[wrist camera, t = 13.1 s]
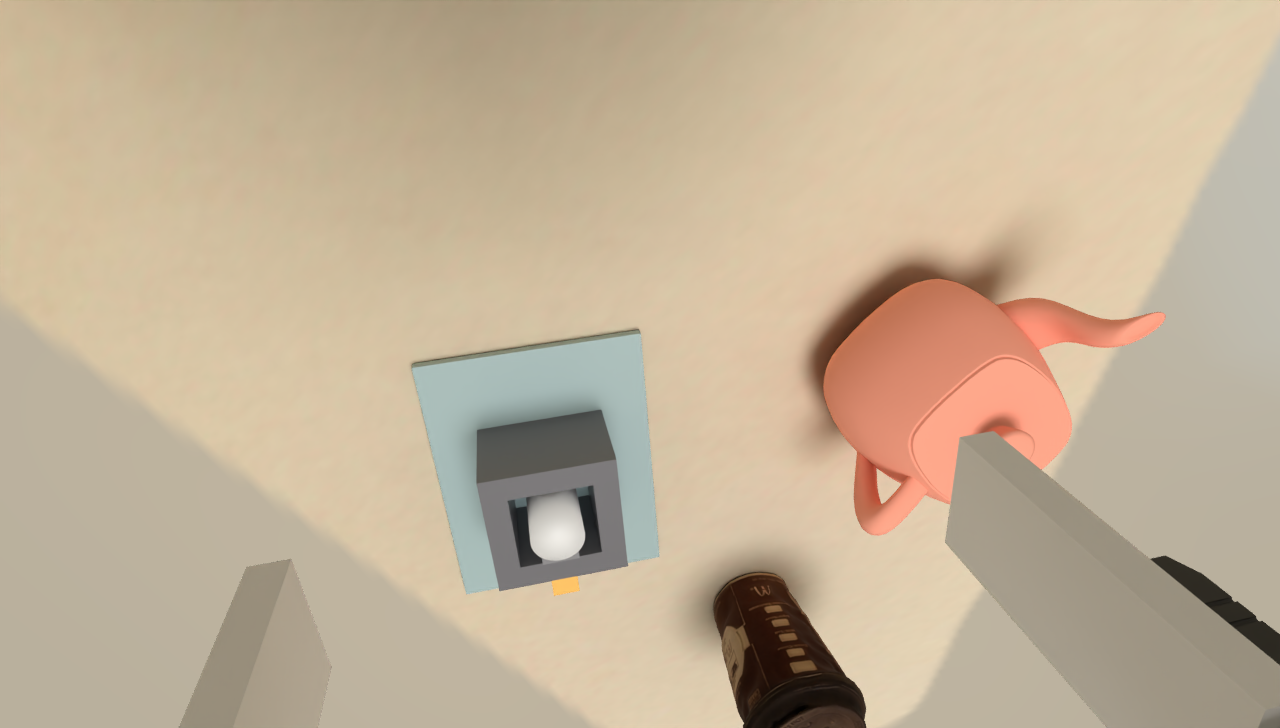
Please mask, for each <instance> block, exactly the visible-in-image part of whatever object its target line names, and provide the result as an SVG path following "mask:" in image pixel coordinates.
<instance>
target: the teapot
mask: <svg viewBox="0 0 1280 728" xmlns="http://www.w3.org/2000/svg"><path fill="white" fill-rule="evenodd" d="M1165 317H1166V316H1165V314H1164V313H1161V312H1156V313H1150V314H1146V315H1142V316H1138V317H1134V318H1129V319H1125V320H1108V319H1101V318H1097V317H1094V316H1091V315H1087V314H1085V313H1082V312H1080V311H1077V310H1075V309H1073V308H1070V307H1068V306H1065V305H1063V304H1060V303H1057V302H1055V301H1051V300H1047V299H1041V298H1026V299H1019V300H1014V301H1010V302H1006V303H1003V304H999V305H995V304H994V303H993V302H991V301H990V300H988V299H987V298H985V297H984V296H982V295H980V294H979V293H977V292H976V291H974V290H972V289H970V288H968V287H966V286H964V285H962V284H959V283H957V282H954V281H949V280H944V279H930V280H925V281H921V282H917V283H914V284H912V285H910V286H908V287H906V288H904V289H902V290H900V291H899V292H897V293H896V294H894V295H893V296H892V297H890V298H889V299H888V300H886V301H885V302H884V303H883V304H882V305H880V306H879V307H878V308H877V309H876V310H874V311H873V312H872V313H871V314H870V315H869V316H868V317H867V318H866V319H864V320H863V321H862V322H861V323H860V324H859V325H858V326H857V327H856V328H855V329H854V330H853V332H852V333H851V334H850V335H849V336H848V337H847V338H846V339H845V340H844V341H843V343H842V344H841V345H840V346H839V347H838V349H837V350H836V351H835V353H834V354H833V355H832V357H831V359H830V361H829V362H828V365H827V368H826V371H825V376H824V385H823V390H824V397H825V400H826V403H827V406H828V409H829V411H830V414H831V416H832V418H833V420H834V422H835V424H836V425H837V427H838V429H839V430H840V432H841V433H842V435H843V436H844V437H845V438H846V440H847V441H848V442H849V443H850V444H851V445H852V446H853V447H854V449H855V450H856V451H857V460H856V470H855V482H854V505H855V512H856V516H857V519H858V521H859V523H860V525H861V527H862V528H863V530H865V531H866V532H867V533H869V534H871V535H878V536H879V535H882V534H885V533H888V532H889V531H891V530H892V529H894V528H895V527H896V526H897V525H898V524H900V523H901V522H902V521H903V520H904V519H905V518H906V517H907V515H908V514H909V513H910V512H911V511H912V510H913V509H914V508H915V506H916V505H917V504H918V503H919V502H920V500H921V499H922V498H923V497H924V495H927V496H929V497H931V498H934V499H936V500H939V501H942V502H944V503H947V504H950V503H951V496H952V488H953V481H954V474H955V467H956V459H957V452H958V445H959V438H960V437H963V436H969V435H974V434H979V433H985V432H990V431H994V432H996V433H997V434H998V435H999V436H1000V437H1002V438H1003V439H1004V440H1005V441H1007V442H1008V443H1009V444H1010V445H1011V446H1013V447H1014V448H1015V449H1016V450H1018V451H1019V452H1020V453H1021V454H1022V455H1024V456H1025V457H1026V458H1027V459H1029V460H1030V461H1031V462H1032V463H1033V464H1035V465H1036V466H1037V467H1038V468H1040V469H1041V470H1042V469H1043V468H1044V467H1045V466H1047V465H1048V464H1049V463H1050V462H1051V461H1052V460H1053V459H1054V458H1055V457H1056V456H1057V455H1058V453H1059V452H1060V451H1061V450H1062V449H1063V448H1064V447H1065V445H1066V444H1067V443H1068V440H1069V438H1070V435H1071V431H1072V422H1071V417H1070V413H1069V410H1068V408H1067V405H1066V403H1065V400H1064V398H1063V396H1062V393H1061V391H1060V389H1059V387H1058V385H1057V383H1056V381H1055V379H1054V377H1053V375H1052V373H1051V371H1050V369H1049V367H1048V366H1047V364H1046V362H1045V360H1044V358H1043V357H1042V355H1041V353H1040V352H1039V349H1042V348H1044V347H1047V346H1049V345H1052V344H1057V343H1062V342H1073V343H1079V344H1084V345H1088V346H1093V347H1103V348H1109V347H1118V346H1124V345H1127V344H1130V343H1133V342H1135V341H1137V340H1140V339H1141V338H1143V337H1145V336H1147V335H1148V334H1150V333H1151V332H1153V331H1154V330H1155V329H1157V328H1158V327H1159V326H1160V325H1161V324H1162V323H1163V322H1164V320H1165ZM876 468H877V469H879V470H880V471H882V472H883V473H884V474H886V475H887V476H889V477H891V478H892V479H894V480H895V481H897V482H899V483H901V486H900V487H899V488H898V489H897V490H896V492H895V493H894V494H893V495H892V496H891V497H890V498H889V499H888V500H887V501H886V502H885V503H883V504H881V502H880V498H879V494H878V489H877V471H876Z"/></svg>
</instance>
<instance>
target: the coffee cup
mask: <svg viewBox="0 0 1280 728" xmlns="http://www.w3.org/2000/svg"><path fill="white" fill-rule="evenodd" d="M714 616H715V621H716V624H717V628H718V630H719V633H720V636H721V640H722V651H723V656H724V660H725V664H726V667H727V671H728V675H729V680H730V683H731V686H732V690H733V694H734V698H735V701H736V705H737V709H738V712H739V715H740V717H741V718H742V720H743V722H744V724H743V728H866V724H865V721H864V718H865V712H866V706H865V702H864V697H863V694H862V692H861V690H860V689H859V688H858V687H857V685H856V684H855V682H853V681H851V680H850V679H849V678H847V677H846V675H845V674H844V672H843V671H842V669H841V667H840V666H839V664H838V663H837V661H836V660H835V658H834V657H833V656H832V654H831V653H830V651H829V650H828V648H827V647H826V645H825V644H824V643H823V641H822V639H821V638H820V636H819V634H818V633H817V632H816V630H815V629H814V628H813V626H812V625H811V623H810V621H809V619H808V617H807V615H806V614H805V613H804V612H803V611H802V610H801V608H800V606H799V605H798V603H797V601H796V600H795V599H794V598H793V596H792V595H791V594H790V593H789V590H788V588H787V586H786V584H785V582H784V580H783V579H781V578H780V577H778V576H777V575H774V574H769V573H752V574H747V575H744V576H741V577H739V578H737V579H735V580H733V581H731V582H729V583H728V584H727V585H726V586H725V587H724V588H723V590H722V591H721V592H720V593H719V595H718V596H717V598H716V600H715V604H714Z"/></svg>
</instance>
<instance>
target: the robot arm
mask: <svg viewBox="0 0 1280 728" xmlns="http://www.w3.org/2000/svg"><path fill="white" fill-rule="evenodd" d="M945 543H946V544H947V545H948V546H949V548H950V549H951V550H952V551H953V552H954V553H955V554H956V556H957V557H958V558H959V559H960V560H961V561H962V562H963V564H964V565H965V566H966V567H967V568H968V569H969V571H970V572H971V573H972V574H973V575H974V576H975V577H976V579H977V580H978V581H979V582H980V583H981V584H982V585H983V587H984V588H985V589H986V590H987V591H988V592H989V593H990V595H991V596H992V597H993V598H994V599H995V600H996V601H997V602H998V604H999V605H1000V606H1001V607H1002V608H1003V609H1004V611H1005V612H1006V613H1007V614H1008V615H1009V616H1010V617H1011V619H1012V620H1013V621H1014V622H1015V623H1016V624H1017V625H1018V627H1019V628H1020V629H1021V630H1022V631H1023V632H1024V633H1025V635H1026V636H1027V637H1028V638H1029V639H1030V640H1031V641H1032V643H1033V644H1034V645H1035V646H1036V647H1037V648H1038V649H1039V651H1040V652H1041V653H1042V654H1043V655H1044V656H1045V658H1046V659H1047V660H1048V661H1049V662H1050V663H1051V664H1052V666H1053V667H1054V668H1055V669H1056V670H1057V671H1058V672H1059V674H1060V675H1061V676H1062V677H1063V678H1064V679H1065V680H1066V682H1067V683H1068V684H1069V685H1070V686H1071V687H1072V688H1073V689H1074V691H1075V692H1076V693H1077V694H1078V695H1079V696H1080V698H1081V699H1082V700H1083V701H1084V702H1085V703H1086V704H1087V706H1088V707H1090V709H1091V710H1092V711H1093V713H1094V714H1095V715H1096V716H1097V717H1098V718H1099V719H1100V720H1101V722H1102V723H1103V724H1104V725H1105V726H1106V727H1107V728H1280V634H1279V633H1277V632H1276V631H1275V630H1273V629H1272V628H1271V627H1269V626H1268V625H1267V624H1266V623H1264V622H1263V621H1260V622H1259V621H1258V620H1257V619H1256V616H1255V615H1254V614H1253V613H1252V612H1250V611H1249V610H1248V609H1246V608H1245V607H1244V606H1243V605H1241V604H1240V603H1239V602H1234V601H1233V600H1232V597H1231V596H1230V595H1228V594H1227V593H1226V592H1225V591H1223V590H1222V589H1221V588H1219V587H1218V586H1217V585H1216V584H1214V583H1213V582H1212V581H1211V580H1209V579H1208V578H1207V577H1205V576H1204V575H1203V574H1201V573H1199V572H1197V571H1195V570H1193V569H1191V568H1189V567H1187V566H1185V565H1183V564H1181V563H1179V562H1177V561H1175V560H1173V559H1171V558H1169V557H1167V556H1161V557H1157V558H1152V559H1149V558H1148V557H1147V556H1146V555H1144V554H1143V553H1142V552H1141V551H1139V550H1138V549H1137V548H1136V547H1135V546H1133V545H1132V544H1131V543H1130V542H1129V541H1127V540H1126V539H1125V538H1124V537H1123V536H1121V535H1120V534H1119V533H1118V532H1116V531H1115V530H1114V529H1113V528H1111V527H1110V526H1109V525H1108V524H1107V523H1105V522H1104V521H1103V520H1102V519H1100V518H1099V517H1098V516H1097V515H1096V514H1094V513H1093V512H1092V511H1091V510H1090V509H1088V508H1087V507H1086V506H1085V505H1083V504H1082V503H1081V502H1080V501H1078V500H1077V499H1076V498H1075V497H1074V496H1072V495H1071V494H1070V493H1069V492H1068V491H1066V490H1065V489H1064V488H1063V487H1061V486H1060V485H1059V484H1058V483H1057V482H1055V481H1054V480H1053V479H1052V478H1051V477H1049V476H1048V475H1047V474H1046V473H1044V472H1043V471H1042V470H1041V469H1040V468H1038V467H1037V466H1036V465H1035V464H1033V463H1032V462H1031V461H1030V460H1029V459H1027V458H1026V457H1025V456H1024V455H1022V454H1021V453H1020V452H1019V451H1018V450H1016V449H1015V448H1014V447H1013V446H1011V445H1010V444H1009V443H1008V442H1007V441H1005V440H1004V439H1003V438H1002V437H1000V436H999V435H998V434H997V433H996V432H994V431H990V432H985V433H979V434H974V435H969V436H963V437H960V438H959V445H958V452H957V459H956V467H955V474H954V481H953V488H952V496H951V503H950V510H949V517H948V525H947V532H946V539H945ZM331 668H332V667H331V664H330V661H329V659H328V656H327V653H326V651H325V648H324V645H323V643H322V640H321V637H320V634H319V632H318V629H317V626H316V624H315V621H314V619H313V616H312V613H311V610H310V608H309V605H308V602H307V600H306V598H305V594H304V592H303V589H302V586H301V584H300V581H299V578H298V576H297V573H296V570H295V568H294V565H293V562H292V560H291V559H288V560H283V561H277V562H271V563H267V564H261V565H256V566H249V567H246V570H245V572H244V574H243V577H242V579H241V582H240V584H239V586H238V589H237V591H236V593H235V596H234V598H233V600H232V603H231V605H230V608H229V610H228V612H227V615H226V617H225V619H224V622H223V624H222V627H221V629H220V632H219V634H218V636H217V638H216V641H215V643H214V645H213V648H212V650H211V653H210V655H209V657H208V660H207V662H206V664H205V667H204V669H203V672H202V674H201V676H200V679H199V681H198V683H197V686H196V688H195V690H194V693H193V695H192V698H191V700H190V702H189V705H188V707H187V709H186V712H185V714H184V717H183V719H182V721H181V724H180V726H179V728H318V725H319V720H320V716H321V712H322V707H323V702H324V698H325V694H326V690H327V685H328V681H329V676H330V672H331Z"/></svg>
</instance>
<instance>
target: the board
mask: <svg viewBox="0 0 1280 728" xmlns="http://www.w3.org/2000/svg"><path fill="white" fill-rule="evenodd" d="M412 371H413V376H414V380H415V384H416V388H417V392H418V396H419V400H420V404H421V409H422V413H423V417H424V421H425V425H426V429H427V433H428V437H429V442H430V446H431V450H432V454H433V458H434V462H435V466H436V470H437V475H438V479H439V483H440V487H441V491H442V495H443V499H444V503H445V508H446V512H447V516H448V520H449V524H450V528H451V532H452V536H453V541H454V545H455V549H456V553H457V557H458V561H459V565H460V569H461V574H462V578H463V582H464V586H465V590H466V594H471V593H476V592H481V591H486V590H491V589H496V588H499V587H498V582H497V577H496V573H495V568H494V564H493V559H492V554H491V550H490V545H489V540H488V536H487V531H486V526H485V522H484V517H483V512H482V508H481V503H480V498H479V494H478V489H477V485H476V468H477V430H479V429H485V428H491V427H497V426H503V425H509V424H515V423H522V422H528V421H534V420H540V419H546V418H552V417H558V416H564V415H570V414H576V413H582V412H589V411H595V410H602V413H603V417H604V420H605V423H606V427H607V430H608V433H609V436H610V440H611V443H612V446H613V450H614V453H615V456H616V460H617V469H618V478H619V488H620V497H621V506H622V515H623V524H624V533H625V542H626V552H627V561H628V563H630V562H635V561H640V560H645V559H651V558H656V557H659V546H658V534H657V522H656V510H655V498H654V486H653V474H652V462H651V451H650V439H649V427H648V415H647V403H646V391H645V379H644V367H643V356H642V344H641V333H640V331H639V330H634V331H627V332H621V333H614V334H607V335H601V336H594V337H587V338H581V339H574V340H567V341H561V342H554V343H547V344H541V345H534V346H527V347H521V348H514V349H507V350H501V351H494V352H487V353H481V354H474V355H467V356H461V357H454V358H447V359H441V360H434V361H427V362H421V363H414V364H412ZM586 495H589V489H588V486H586V487H581V488H575V489H570V490H564V491H558V492H553V493H547V494H542V495H536V496H530V497H525V498H519V499H515V504H516V508H519V507H525V506H527V513H528V524H529V534H530V544H531V548H532V550H533V551H534V552H535V553H536V554H537V555H538V556H539V557H541V558H542V562H543V565H546V564H551V563H556V562H561V561H566V560H572V559H577V558H580V555H579V550H580V549H581V548H582V546H583V544H584V541H585V531H584V526H583V521H582V516H581V511H580V506H579V501H578V497H580V496H586Z"/></svg>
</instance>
